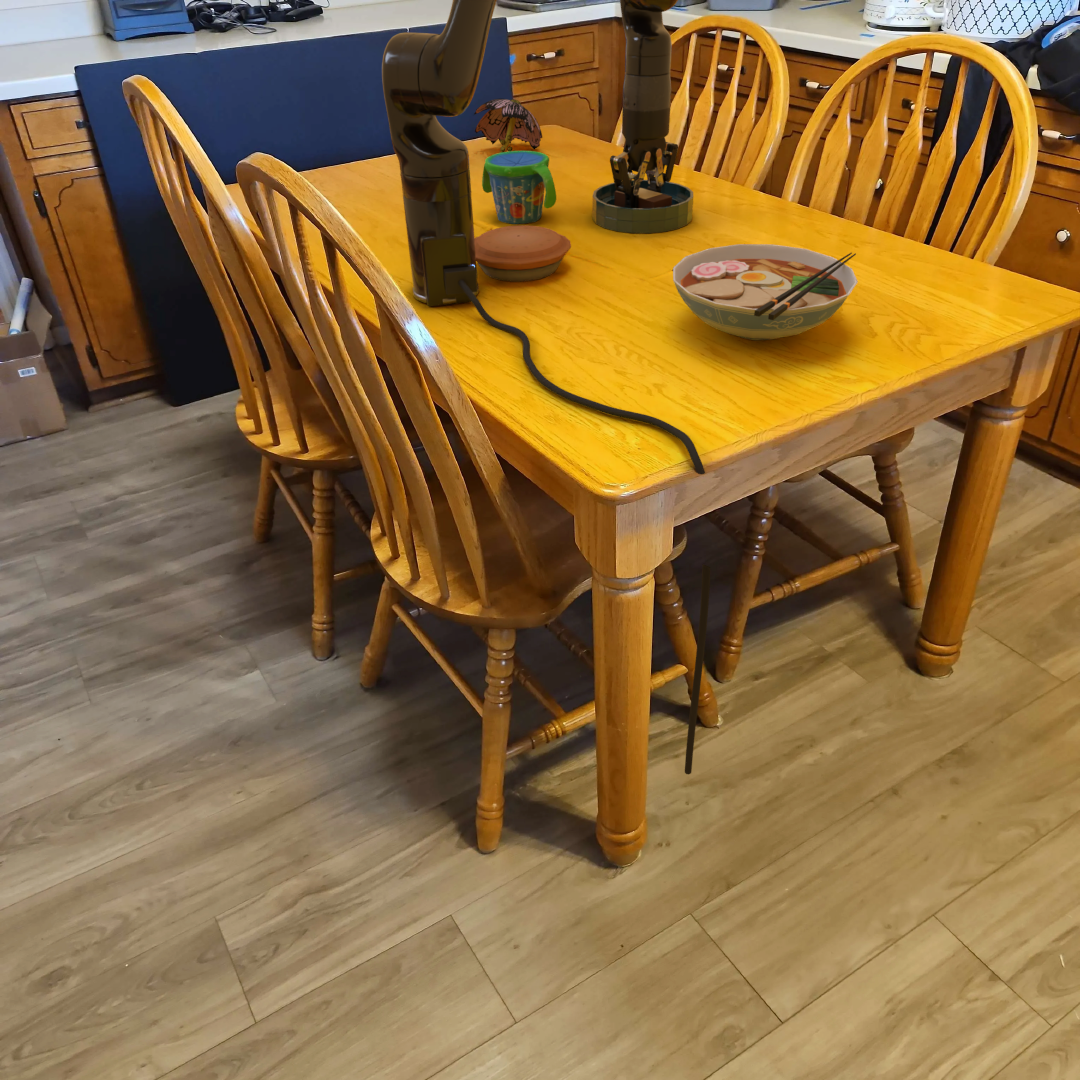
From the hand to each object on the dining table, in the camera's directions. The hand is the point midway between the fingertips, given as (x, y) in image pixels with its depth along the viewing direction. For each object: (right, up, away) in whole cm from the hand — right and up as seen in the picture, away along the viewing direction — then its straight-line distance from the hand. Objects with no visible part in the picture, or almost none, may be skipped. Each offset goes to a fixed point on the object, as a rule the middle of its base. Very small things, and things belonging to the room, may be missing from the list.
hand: (642, 212), depth 159 cm
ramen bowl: (+11, -28, -36) cm, 47 cm away
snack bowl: (0, -1, +1) cm, 1 cm away
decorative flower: (-23, +26, +40) cm, 53 cm away
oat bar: (0, 0, 0) cm, 0 cm away
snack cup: (-21, 0, +3) cm, 21 cm away
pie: (-20, -14, -16) cm, 29 cm away
